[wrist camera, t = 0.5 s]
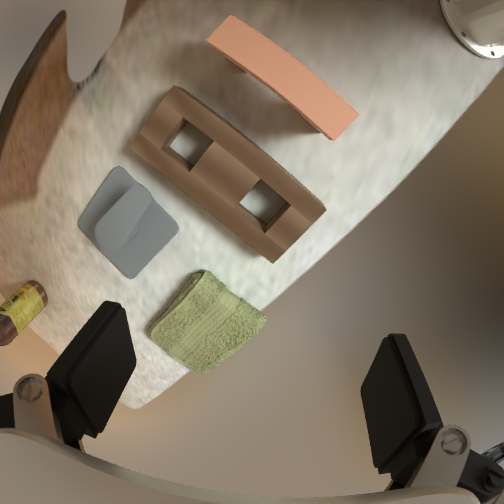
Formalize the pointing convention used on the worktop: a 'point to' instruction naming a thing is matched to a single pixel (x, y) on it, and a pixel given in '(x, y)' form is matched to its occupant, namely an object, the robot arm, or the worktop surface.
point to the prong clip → (283, 76)
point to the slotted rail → (226, 174)
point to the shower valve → (127, 223)
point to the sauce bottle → (20, 310)
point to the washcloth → (205, 324)
